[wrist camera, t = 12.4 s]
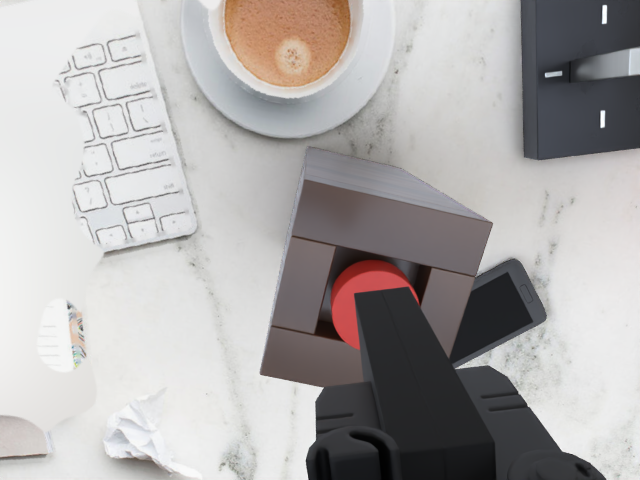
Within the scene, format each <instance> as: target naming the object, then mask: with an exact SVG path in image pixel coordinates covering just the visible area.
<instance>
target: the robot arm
mask: <svg viewBox="0 0 640 480" xmlns="http://www.w3.org/2000/svg"><path fill="white" fill-rule="evenodd" d="M354 300H355V309H356V318H357V327H358V336H359V344H360V353H361V362H362V371H363V380H364V382H360V383H352V384H344V385H335V386H327V387H324V389H323V390H322V392H321V394H320V395H319V397H318V398H317V400H316V401H315V403H316V441H315V442H314V443H313V444H312V446H311V447H310V448H309V451H308V454H307V457H306V466H307V472H308V479H309V480H606V478H605V477H604V476H603V475H602V474H601V473H600V472H599V471H598V470H597V469H596V468H595V467H594V466H592V465H591V464H590V463H589V462H587V461H585V460H583V459H581V458H579V457H577V456H575V455H573V454H569V453H565V452H562V451H561V449H560V448H559V447H558V445H557V444H556V442H555V441H554V440H553V438H552V437H551V436H550V434H549V433H548V432H547V430H546V429H545V428H544V426H543V425H542V423H541V422H540V421H539V419H538V418H537V417H536V415H535V414H534V413H533V411H532V410H531V408H530V407H528V406H527V403H526V402H525V400H524V399H523V398H522V396H521V395H519V394H518V391H517V389H516V388H515V387H514V385H513V384H512V383H511V381H510V380H509V379H508V377H507V376H505V375H503V374H502V373H500V372H498V371H497V370H495V369H493V368H492V367H490V366H479V367H471V368H463V369H454V367H453V365H452V364H451V362H450V360H449V358H448V356H447V355H446V353H445V351H444V349H443V347H442V346H441V344H440V342H439V340H438V338H437V337H436V335H435V333H434V331H433V329H432V328H431V326H430V324H429V322H428V320H427V319H426V317H425V315H424V313H423V311H422V310H421V308H420V306H419V304H418V302H417V301H416V299H415V297H414V295H413V293H412V292H411V290H410V288H409V286H408V287H400V288H392V289H384V290H375V291H367V292H359V293H354Z"/></svg>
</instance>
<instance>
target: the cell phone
mask: <svg viewBox="0 0 640 480" xmlns="http://www.w3.org/2000/svg"><path fill="white" fill-rule="evenodd" d="M546 317H547V315H546V312H545V309H544V307H543V305H542V303H541V301H540V299H539V297H538V295H537V293H536V291H535V289H534V287H533V285H532V283H531V281H530V279H529V277H528V275H527V273H526V271H525V269H524V267H523V266H522V264H521V263H520V262H519V261H518V260H516V259H512V260H509V261H507V262H505V263H503V264H501V265H499V266H497V267H495V268H493V269H492V270H490V271H488V272H486V273H484V274H482V275H481V276H479V277H477V278H475V280H474V283H473V286H472V289H471V292H470V296H469V299H468V302H467V305H466V308H465V311H464V314H463V317H462V320H461V323H460V326H459V330H458V333H457V336H456V339H455V342H454V345H453V348H452V351H451V354H450V357H449V360H450V362H451V364H452V365H453V367H454V369H455V368H457V367H459V366H460V365H462V364H464V363H466V362H468V361H470V360H472V359H474V358H476V357H478V356H480V355H482V354H483V353H485V352H487V351H489V350H491V349H493V348H495V347H497V346H499V345H501V344H503V343H505V342H506V341H508V340H510V339H512V338H514V337H516V336H518V335H520V334H522V333H524V332H526V331H528V330H529V329H531V328H533V327H535V326H537V325H539V324H541V323H542V322H544V321H545V320H546Z"/></svg>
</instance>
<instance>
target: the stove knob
mask: <svg viewBox="0 0 640 480" xmlns="http://www.w3.org/2000/svg"><path fill="white" fill-rule="evenodd" d="M639 75H640V47H637V48H629V49H624V50H619V51H614V52H610V53H605V54H600V55H595V56H590V57H585V58H581V59H576V60H572V61H571V74H570V82H571V83H576V82H585V81H594V80H603V79H612V78H621V77H630V76H639Z"/></svg>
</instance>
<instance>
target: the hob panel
mask: <svg viewBox="0 0 640 480" xmlns="http://www.w3.org/2000/svg"><path fill="white" fill-rule="evenodd" d="M521 25H522V78H523V131H524V157H525V158H530V159H535V160H544V159H553V158H561V157H569V156H578V155H586V154H594V153H602V152H611V151H619V150H627V149H636V148H640V75H639V76H630V77H621V78H612V79H603V80H594V81H585V82H576V83H571V82H570V74H571V61H572V60H576V59H581V58H585V57H590V56H595V55H600V54H605V53H610V52H614V51H619V50H624V49H629V48H637V47H640V0H521Z"/></svg>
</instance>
